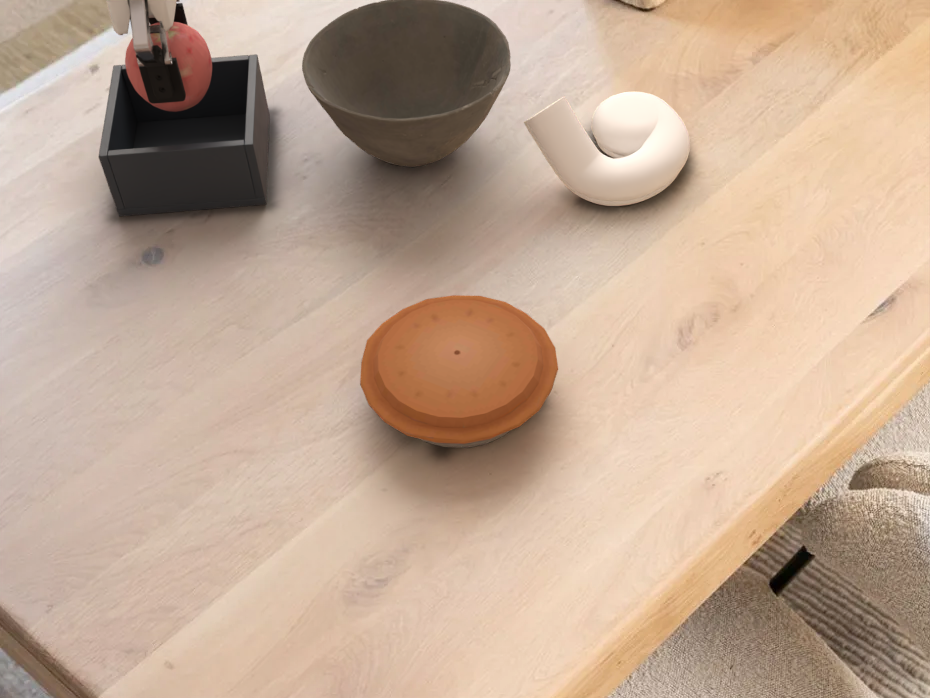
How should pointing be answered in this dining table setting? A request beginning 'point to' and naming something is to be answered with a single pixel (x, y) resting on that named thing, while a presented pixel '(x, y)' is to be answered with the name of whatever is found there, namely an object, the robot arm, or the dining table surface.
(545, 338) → the pie
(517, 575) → the dining table surface
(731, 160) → the dining table surface
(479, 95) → the bowl
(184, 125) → the bin
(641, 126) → the sculpture
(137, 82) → the apple
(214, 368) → the dining table surface
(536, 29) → the dining table surface
